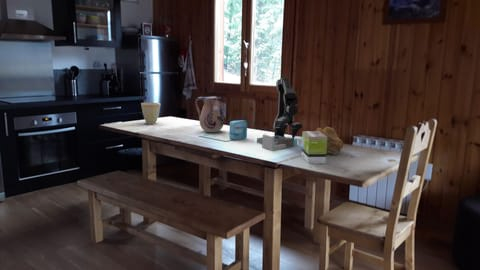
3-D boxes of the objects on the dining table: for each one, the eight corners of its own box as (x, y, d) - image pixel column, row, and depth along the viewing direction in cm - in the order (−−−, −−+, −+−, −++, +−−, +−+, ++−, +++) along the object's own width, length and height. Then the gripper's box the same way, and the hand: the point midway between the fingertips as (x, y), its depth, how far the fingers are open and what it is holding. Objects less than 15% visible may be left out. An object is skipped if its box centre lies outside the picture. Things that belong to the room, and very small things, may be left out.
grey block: (276, 145, 239) (277, 133, 238) (286, 148, 232) (287, 135, 231) (262, 147, 233) (262, 134, 231) (271, 150, 226) (272, 137, 224)
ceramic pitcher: (222, 134, 270) (223, 98, 265) (193, 133, 271) (193, 97, 266) (224, 129, 287) (225, 96, 283) (196, 128, 288) (196, 95, 283)
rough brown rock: (334, 160, 210) (339, 134, 207) (306, 153, 219) (310, 128, 216) (347, 153, 230) (351, 129, 227) (321, 147, 238) (325, 124, 235)
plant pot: (147, 125, 295) (147, 105, 292) (138, 123, 306) (137, 103, 302) (164, 123, 305) (164, 104, 302) (154, 121, 316) (154, 102, 312)
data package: (233, 140, 251) (234, 122, 249) (229, 139, 254) (229, 121, 252) (246, 138, 259) (247, 120, 257) (242, 137, 262) (242, 119, 260)
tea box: (300, 156, 214) (302, 130, 211) (318, 156, 215) (319, 130, 212) (307, 163, 199) (309, 136, 196) (326, 163, 200) (328, 136, 197)
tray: (277, 139, 257) (277, 135, 256) (287, 142, 249) (287, 138, 249) (256, 142, 247) (257, 138, 246) (266, 145, 239) (266, 140, 239)
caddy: (293, 144, 244) (293, 136, 244) (298, 145, 241) (298, 137, 240) (277, 146, 237) (278, 138, 236) (282, 147, 234) (282, 139, 233)
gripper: (269, 111, 237) (268, 135, 241) (289, 115, 223) (288, 141, 226) (282, 110, 244) (281, 134, 247) (303, 114, 229) (302, 139, 232)
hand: (287, 137), depth 238 cm, fingers open, 9 cm apart
